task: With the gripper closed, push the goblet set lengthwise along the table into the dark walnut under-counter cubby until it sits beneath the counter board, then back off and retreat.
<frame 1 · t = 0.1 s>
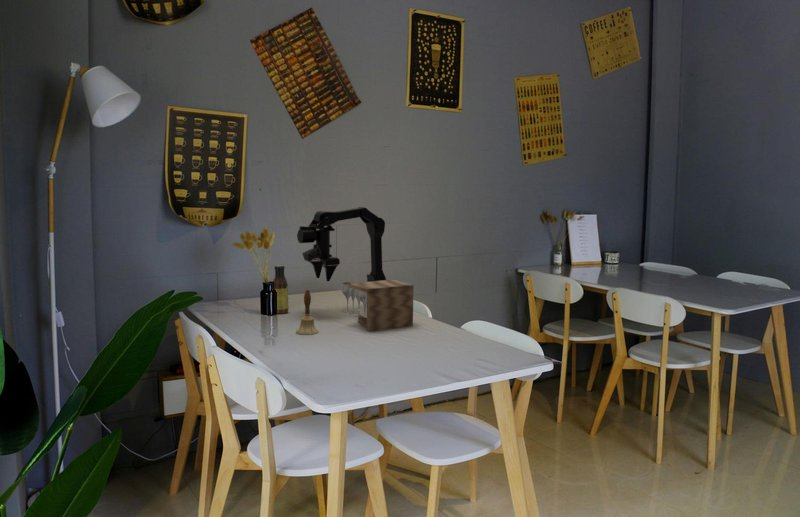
hand: (322, 279, 277), 15 cm above the table, fingers open, 9 cm apart
hand bell: (307, 332, 249), on the table
sauce bottle: (280, 312, 281), on the table
walnut cubby: (371, 320, 268), on the table
goblet set: (358, 316, 277), on the table
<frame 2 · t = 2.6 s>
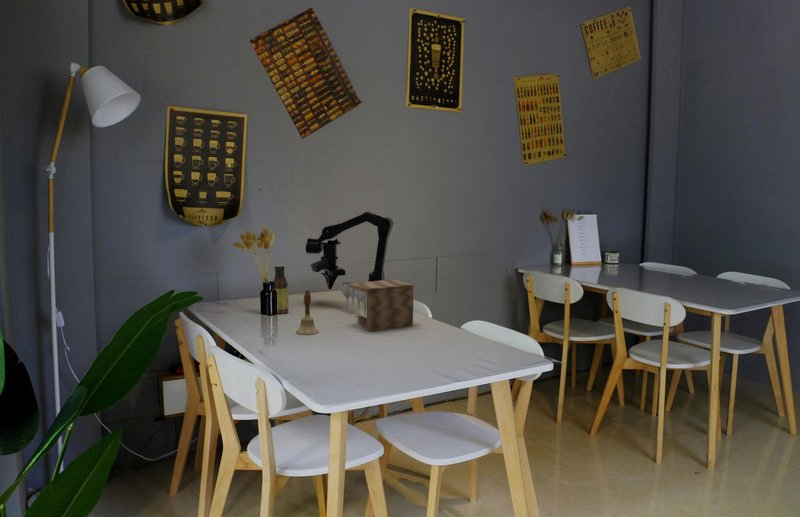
hand: (329, 289, 297), 7 cm above the table, fingers closed
nothing on the table moved.
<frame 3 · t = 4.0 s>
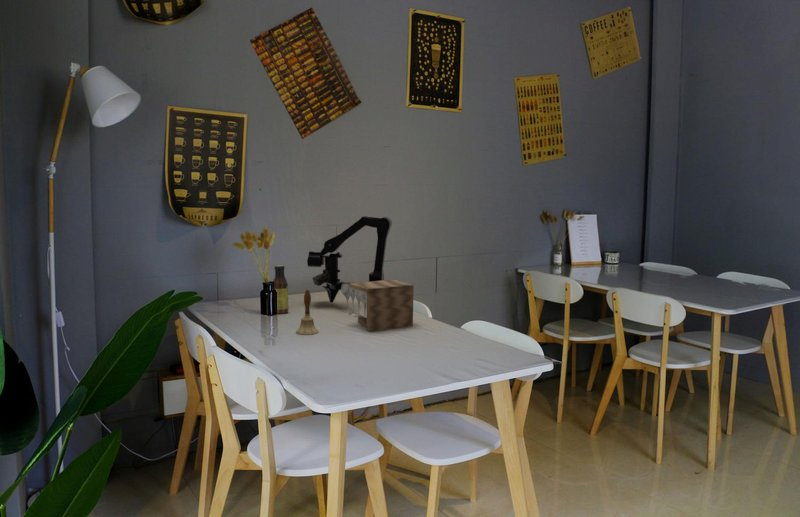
hand: (331, 302, 296), 1 cm above the table, fingers closed
nothing on the table moved.
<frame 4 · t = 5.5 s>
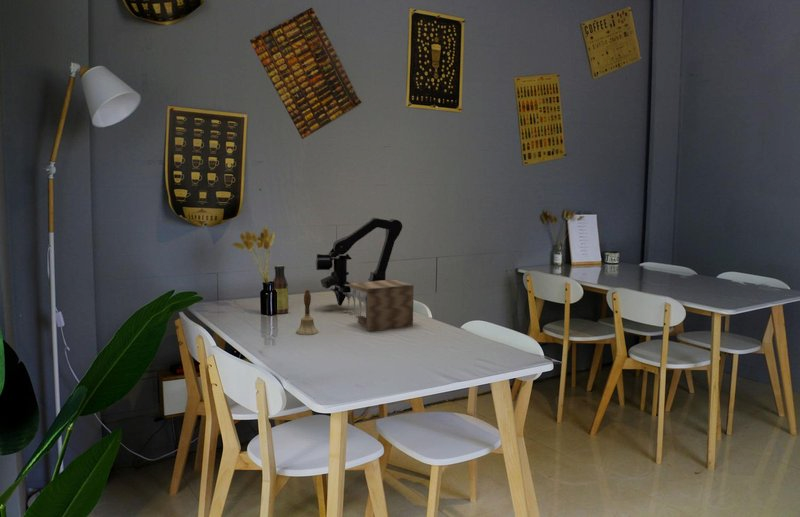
hand: (339, 305, 290), 2 cm above the table, fingers closed, pressing on goblet set
goblet set: (359, 317, 275), on the table, touching gripper
everything else where it was.
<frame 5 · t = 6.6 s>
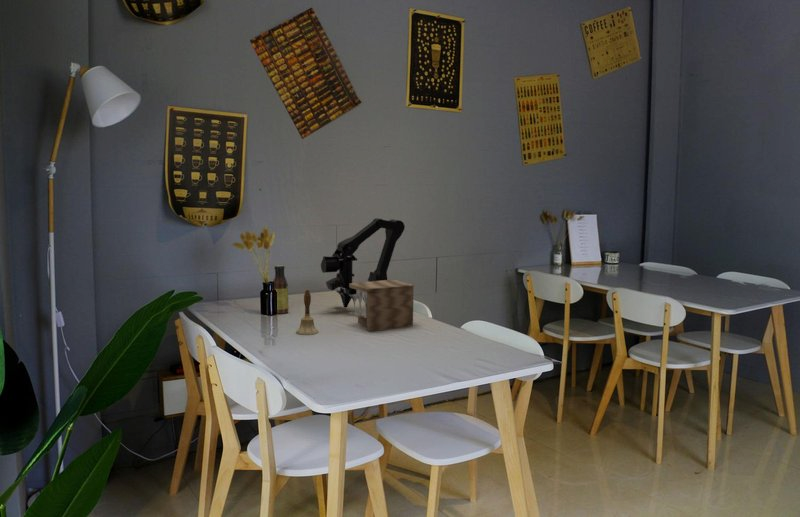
hand: (345, 307, 286), 2 cm above the table, fingers closed, pressing on goblet set
goblet set: (365, 319, 271), on the table, touching gripper
everything else where it was.
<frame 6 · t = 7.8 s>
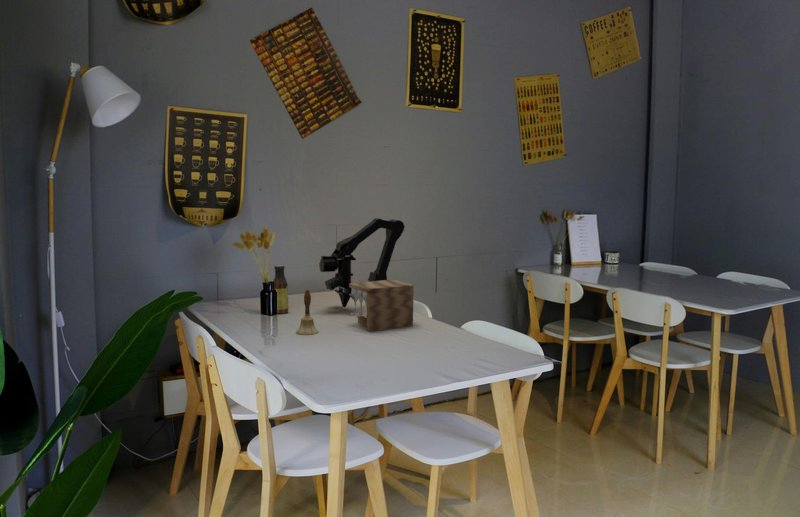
hand: (344, 307, 287), 2 cm above the table, fingers closed
goblet set: (366, 320, 271), on the table
everything else where it was.
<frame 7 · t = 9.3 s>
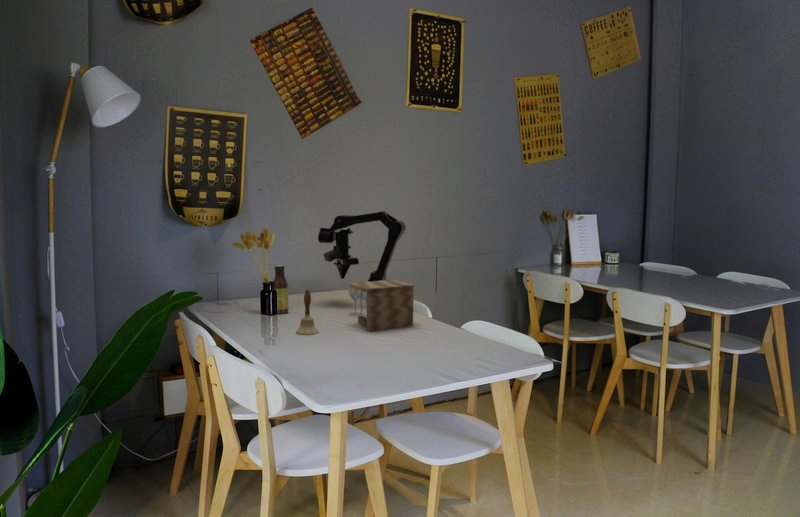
hand: (342, 278, 297), 12 cm above the table, fingers closed
nothing on the table moved.
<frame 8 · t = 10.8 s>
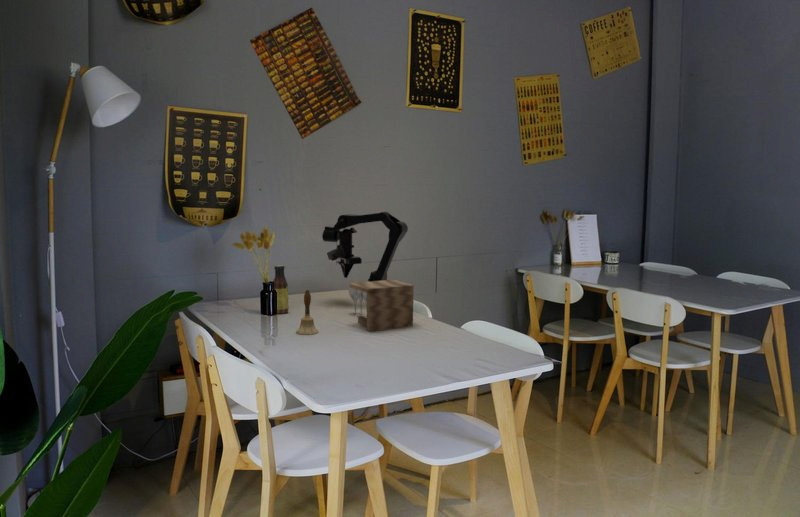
hand: (345, 277, 299), 12 cm above the table, fingers closed
nothing on the table moved.
at the end: goblet set 2.5 cm off-centre on the walnut cubby, point 0.0 cm above the walnut cubby's base; goblet set tilted 0°; goblet set moved 7.0 cm from its start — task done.
